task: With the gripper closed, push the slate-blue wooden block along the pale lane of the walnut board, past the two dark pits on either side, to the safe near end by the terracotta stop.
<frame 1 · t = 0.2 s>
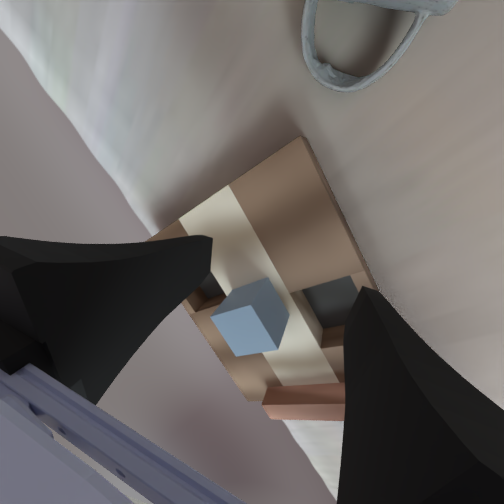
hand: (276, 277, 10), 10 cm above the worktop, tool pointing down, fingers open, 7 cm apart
block: (260, 301, 20), point 3 cm above the worktop, touching trap board
trap board: (274, 293, 23), on the worktop
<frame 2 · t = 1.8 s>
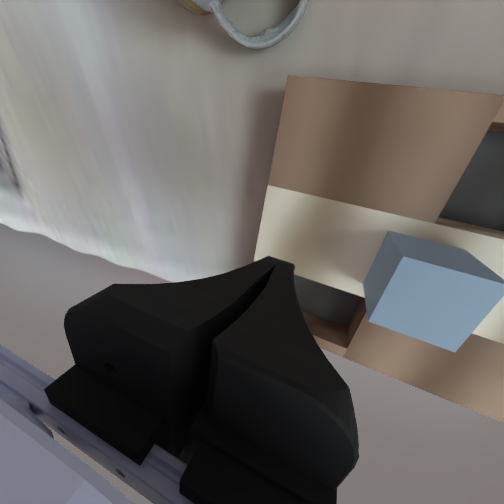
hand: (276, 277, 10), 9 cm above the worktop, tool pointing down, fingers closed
block: (408, 268, 14), point 3 cm above the worktop, touching trap board
trap board: (413, 254, 16), on the worktop
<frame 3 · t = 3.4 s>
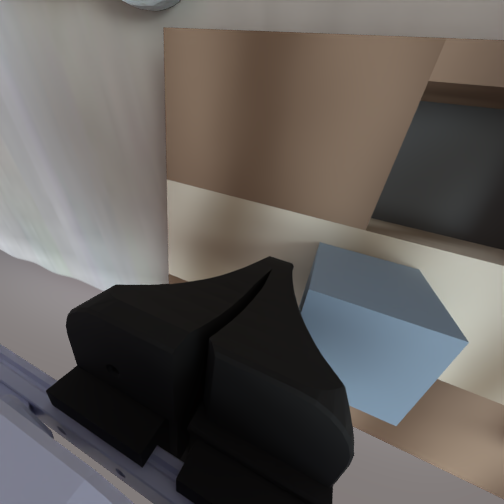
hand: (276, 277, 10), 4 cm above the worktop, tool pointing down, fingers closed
block: (350, 292, 10), point 3 cm above the worktop, touching gripper
trap board: (359, 267, 13), on the worktop
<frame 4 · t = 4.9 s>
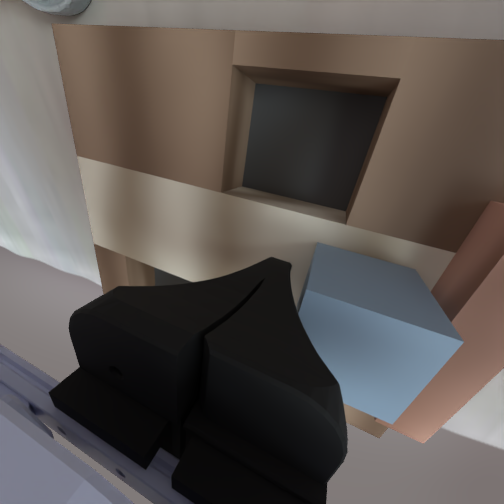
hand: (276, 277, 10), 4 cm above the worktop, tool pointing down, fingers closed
block: (347, 292, 10), point 3 cm above the worktop, touching gripper, trap board
trap board: (252, 234, 14), on the worktop
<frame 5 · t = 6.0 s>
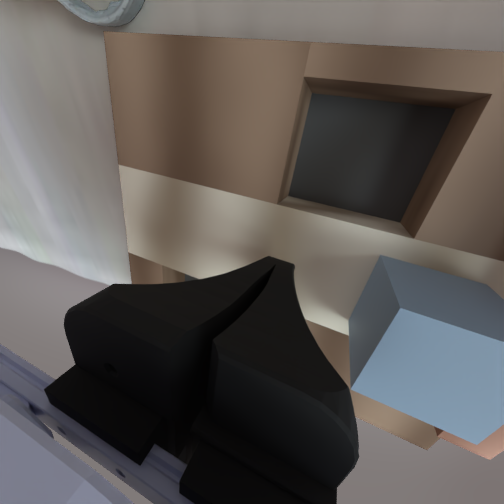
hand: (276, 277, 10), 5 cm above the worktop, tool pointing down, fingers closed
block: (408, 305, 10), point 3 cm above the worktop, touching trap board
trap board: (293, 244, 14), on the worktop
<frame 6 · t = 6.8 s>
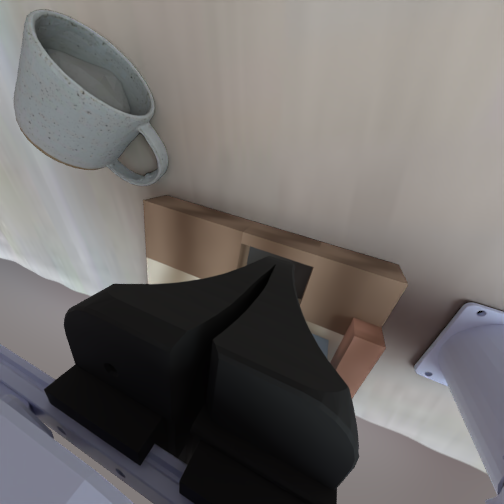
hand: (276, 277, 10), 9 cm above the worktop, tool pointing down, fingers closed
ceramic mug: (136, 126, 21), on the worktop
trap board: (249, 301, 24), on the worktop
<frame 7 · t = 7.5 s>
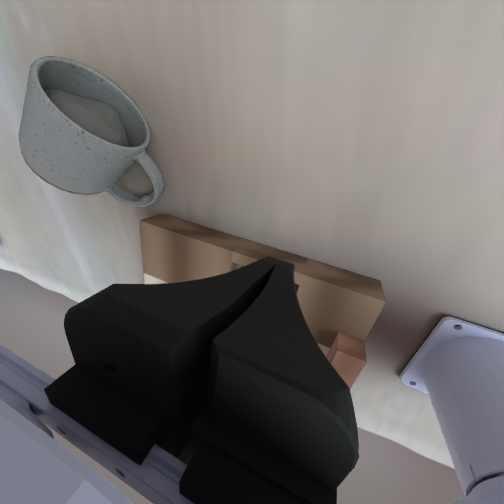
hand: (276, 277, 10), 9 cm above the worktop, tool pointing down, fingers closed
ceramic mug: (133, 151, 22), on the worktop
trap board: (243, 313, 25), on the worktop
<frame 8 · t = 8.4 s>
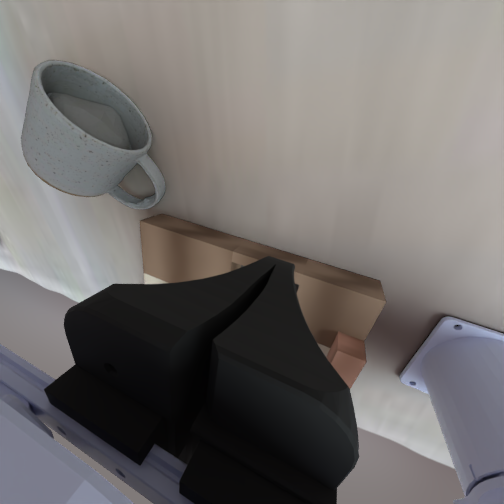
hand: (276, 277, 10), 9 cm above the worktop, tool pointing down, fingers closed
ceramic mug: (135, 153, 22), on the worktop
trap board: (243, 313, 25), on the worktop
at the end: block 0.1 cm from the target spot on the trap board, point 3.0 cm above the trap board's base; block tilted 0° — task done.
